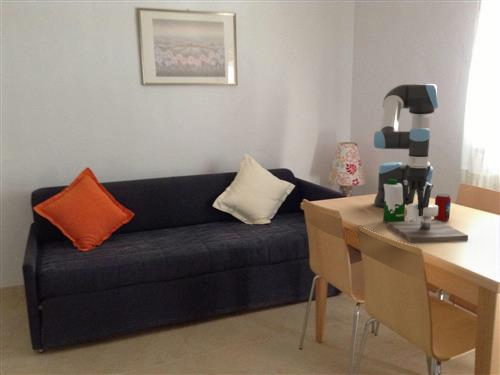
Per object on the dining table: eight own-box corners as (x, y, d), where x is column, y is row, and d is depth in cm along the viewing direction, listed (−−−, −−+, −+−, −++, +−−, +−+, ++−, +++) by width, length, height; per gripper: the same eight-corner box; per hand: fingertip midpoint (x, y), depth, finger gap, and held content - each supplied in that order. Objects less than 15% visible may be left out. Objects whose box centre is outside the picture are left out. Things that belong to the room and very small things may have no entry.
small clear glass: (418, 227, 191) (419, 213, 189) (427, 226, 191) (428, 213, 190) (423, 229, 187) (424, 216, 185) (432, 229, 187) (433, 215, 186)
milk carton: (393, 218, 212) (395, 177, 208) (408, 223, 204) (410, 180, 200) (379, 221, 208) (381, 179, 204) (394, 225, 200) (396, 182, 196)
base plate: (386, 226, 200) (387, 221, 199) (437, 224, 202) (437, 219, 202) (411, 242, 176) (411, 237, 176) (467, 240, 179) (468, 235, 178)
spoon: (422, 210, 194) (422, 197, 193) (441, 214, 187) (442, 200, 186) (399, 217, 183) (400, 203, 182) (419, 221, 176) (420, 207, 175)
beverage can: (450, 221, 206) (452, 196, 203) (435, 221, 207) (437, 196, 205) (447, 218, 212) (449, 193, 210) (432, 217, 213) (434, 193, 211)
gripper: (395, 165, 182) (392, 220, 186) (430, 169, 170) (426, 228, 174) (406, 163, 186) (403, 217, 191) (441, 167, 174) (437, 225, 178)
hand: (414, 222), depth 182 cm, fingers closed on spoon, 3 cm apart
